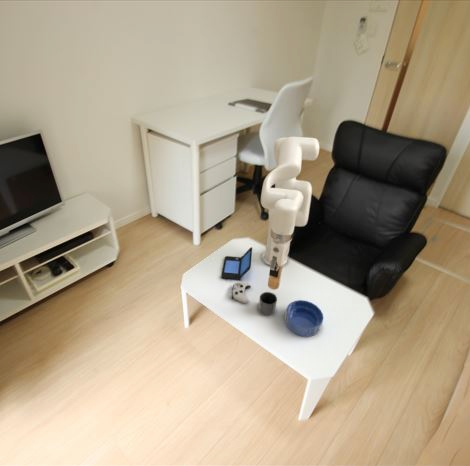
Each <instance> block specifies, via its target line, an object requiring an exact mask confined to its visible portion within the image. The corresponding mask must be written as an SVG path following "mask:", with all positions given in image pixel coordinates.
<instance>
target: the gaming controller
mask: <svg viewBox="0 0 470 466" xmlns="http://www.w3.org/2000/svg"><path fill="white" fill-rule="evenodd" d="M249 289H251V284H250V283H248V282H243V281H241V282H235V283H233V285H232V291H231V299H232V300H233V301H234V300H235V301H238V302H239V303H242V304H245V305H248V304H249V303H250V300H249V299H248V297H247V295H246V294H245V293H246V290H249Z"/></svg>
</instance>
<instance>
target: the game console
mask: <svg viewBox="0 0 470 466" xmlns="http://www.w3.org/2000/svg"><path fill="white" fill-rule="evenodd" d="M252 257H253V247H252V246H251V247H249V249H248V250H247V251H246V252H245V253H244V254H243V255H242V256H230V255H225V257H224V259H223V265H222V269H221V275H220V278H221V279H223V280H230V281H238V282H240V281H241V279H242V278H243V277H244V276H245V275H246V274H247V273H248V272H249V271H250V270H251V269H252Z"/></svg>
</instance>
